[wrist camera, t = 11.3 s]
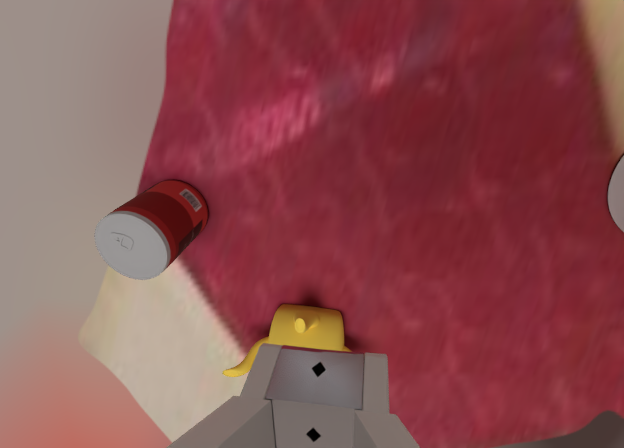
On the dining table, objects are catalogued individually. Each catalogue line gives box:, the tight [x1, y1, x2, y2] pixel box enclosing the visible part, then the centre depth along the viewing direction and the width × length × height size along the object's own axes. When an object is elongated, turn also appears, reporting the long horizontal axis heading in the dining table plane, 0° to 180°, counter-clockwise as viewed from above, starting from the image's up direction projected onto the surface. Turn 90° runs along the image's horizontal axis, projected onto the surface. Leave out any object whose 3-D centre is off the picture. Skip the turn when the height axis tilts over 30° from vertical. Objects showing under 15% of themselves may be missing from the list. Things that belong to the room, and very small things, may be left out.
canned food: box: [94, 180, 208, 280], centre depth 44 cm, size 8×8×11 cm
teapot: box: [223, 304, 352, 377], centre depth 50 cm, size 15×14×10 cm
